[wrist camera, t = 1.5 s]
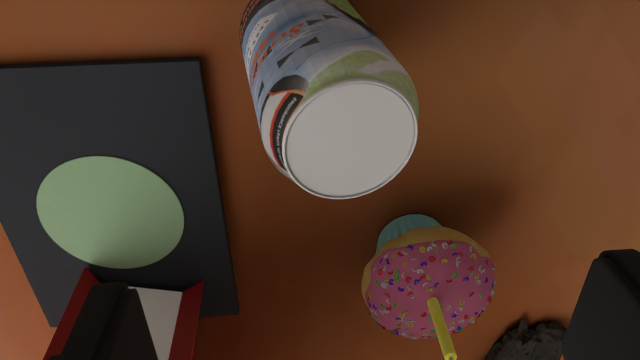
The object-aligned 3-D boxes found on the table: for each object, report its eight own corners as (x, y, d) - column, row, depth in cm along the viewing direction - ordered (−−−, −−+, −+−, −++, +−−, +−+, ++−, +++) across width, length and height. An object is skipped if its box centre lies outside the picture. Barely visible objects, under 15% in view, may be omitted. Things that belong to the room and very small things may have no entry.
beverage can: (253, -46, 24) (237, 21, 14) (392, -6, 26) (466, 80, 16) (231, 72, 27) (205, 195, 17) (355, 101, 29) (397, 229, 19)
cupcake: (333, 222, 34) (356, 375, 24) (448, 170, 32) (526, 311, 22) (380, 297, 38) (418, 452, 28) (484, 255, 36) (563, 404, 26)
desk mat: (-65, 67, 26) (-73, 72, 25) (200, 57, 27) (198, 61, 26) (53, 321, 37) (49, 328, 36) (239, 308, 38) (238, 316, 37)
